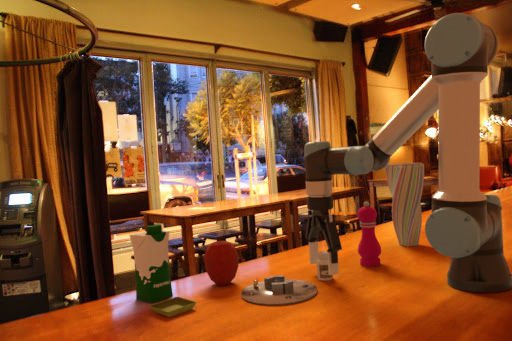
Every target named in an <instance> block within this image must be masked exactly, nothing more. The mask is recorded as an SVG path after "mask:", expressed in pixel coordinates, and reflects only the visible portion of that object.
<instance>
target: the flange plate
mask: <svg viewBox="0 0 512 341" xmlns="http://www.w3.org/2000/svg"><path fill="white" fill-rule="evenodd" d="M317 293H318V288H317V285H315V284H314V283H312V282H309V281H306V280H303V279H302V280H301V279H294V278H286V276H285V274H283V275H282V274H280V275H279V274H277V275H270V276H267V277H264V278H263V281H259V279H253V283H252V284H249V285H247V286H245V287H244V288H243V289H242V290H241V297H242V299H243V300H244V301H246V302H247V303H251V304H255V305H261V306H284V305H285V306H286V305H294V304H297V303H302V302H304V301H308V300H310V299H312V298H314V297H316V295H317Z"/></svg>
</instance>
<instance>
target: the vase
mask: <svg viewBox="0 0 512 341" xmlns="http://www.w3.org/2000/svg"><path fill="white" fill-rule="evenodd" d="M384 172H385V177H386V182H387V185H388V189H389V193H390V194H391V198H392V200H391V202H392V204H391V218H392V224H393V228H394V231H395V232H394V233H395V235H396V239H397V242H398V246H403V247H413V246H419V244H420V237H421V233H422V223H423V214H422V211H423V210H422V204H421V199H422V196H423V195H422V194H423V191H424V190H423V189H424V182H425V180H424V179H425V178H424V177H425V164H424V163H422V162H405V163H393V164H392V163H390V164H388V165H387V166H386V167H385V168H384Z"/></svg>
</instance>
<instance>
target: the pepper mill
mask: <svg viewBox="0 0 512 341" xmlns="http://www.w3.org/2000/svg"><path fill="white" fill-rule="evenodd" d="M377 218H378V212H377V209H376V208H374V206H370V202H369V201H364V202H363V206H362V207H360V208H358V210H357V219H359V227H361V238H360V241H359V244H358V247H357V253H358V255H359V256H360V257H361V258H359V264H360V265H361V266H362V267H369V268H370V267H378V266H381V264H382V263H381V258H380V257H379V256H381V254H382V246H381V244H380V243H379V240H378V239H377V236H376V229H375V228H376V227H377V221H376V219H377Z"/></svg>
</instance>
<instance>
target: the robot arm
mask: <svg viewBox="0 0 512 341" xmlns="http://www.w3.org/2000/svg"><path fill="white" fill-rule="evenodd" d="M423 46H424V51H425V55H426V57H427V59H428V61H429V62H431V66H430V67H431V75H430V76H429V77H428V78H427V79H426V80H425V81H424V82H423V83H422V84H421V85H420V86H419V87H418V89H417V90H416V91H415V92H414V93H413V94H412V95H411V96H409V98H408V99H407V100H406V101H405V102H404V103H403V105H402V106H400V108H399V109H398V110H397V111H395V113H394V114H393V115H392V116H391V117H390V118H389V119H388V120H387V121H386V123H385V124H384V125H383V126H381V128H380V129H379V130H378V131H377V132H376V133H375V134H374V135H373V136H372V138H371V139H369V141H367V143H366V144H365V145H354V146H342V147H341V146H340V147H331V142H330V141H325V140H324V141H310V142H307V143H305V144H304V148H303V149H304V153H303V154H304V157H303V160H304V168H305V194H306V195H307V197H306V205H307V206H306V207H307V210H308V211H307V221H306V229H305V235H304V236H305V239H307V242H308V251H309V255H308V256H309V265H317V260H318V259H319V258H318V252H320V251H319V238H318V237H319V234H320V232H322V234H323V237H324V240H325V242H326V246H327V250H326V251H327V252H328V271H329V275H333V276H336V275H340V271H339V251H341V250H342V249H343V247H342V243H341V238H340V235H339V231H338V228H337V223H336V215H335V214H330V212H329V211H330V210H332V209H334V207H335V204H334V196H333V195H332V194H333V187H334V183H333V175H334V176H335V175H353V176H359V175H366V174H369V173H370V172H377V171H380V170H383V169H385V167H386V166H387V165H389V163H390V159H391V157H392V155H394V154H395V153H396V152H397V151H399V149H400V148H401V147H402V146H403V145H404V144H405V143H406V142H408V140H410V138H412V136H413V135H414V134H415V133H416V132H417V131H418V130H419V129H420V128H422V127H423V125H424V124H425V123H426V122H427V121H428V120H429V119H430V118H431V117H433V115H435V113H436V112H438V188H437V190H436V191H435V192H434V193H433V194H432V195H431V213H430V214H429V215H428V217H427V219H426V221H425V225H424V233H425V237H426V240H427V241H428V243H429V245H430V246H431V247H432V248H433V249H434V250H435V251H436V252H438V253H439V254H440V255H442V256H445V257H448V258H451V260H450V262H449V263H450V264H449V269H448V271H447V273H446V278H447V279H446V281H447V284H448V285H449V286H450V287H452V288H454V289H457V290H462V291H466V292H472V293H473V292H474V293H499V292H500V293H501V292H506V291H509V290H511V289H512V273H511V270H510V267H509V265H508V262H507V260H506V257H505V254H504V253H505V252H504V238H503V237H504V236H503V215H502V214H503V213H502V210H503V206H502V204H501V198H500V197H499V196H498V195H496V194H484V193H483V192H482V191H481V190H480V174H481V173H480V172H481V171H480V169H481V168H480V167H481V166H480V165H481V164H480V162H481V161H480V160H481V159H480V157H481V156H480V152H481V150H480V149H481V147H480V145H481V144H480V143H481V140H480V139H481V135H480V132H481V131H480V130H481V129H480V128H481V123H480V122H481V116H480V115H481V83H482V81H484V79H486V77H487V76H488V73H489V72H488V71H489V66H490V65H491V64H492V62H493V60H495V58H496V57H497V56H496V55H497V53H498V48H499V40H498V37H497V34H496V33H495V31H494V30H493V29H492V28H491V27H490V26H489V25H488V24H485V23H483V22H482V21H480V20H479V19H478V18H477V17H476V16H474V15H472V14H466V13H462V12H454V13H449V14H447V15H444V16H442V17H441V18H439V19H438V20H436V21H435V22H434V23H433V24H432V26H431V27H430V28H429V29H428V31H427V33H426V36H425V39H424V45H423Z"/></svg>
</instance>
